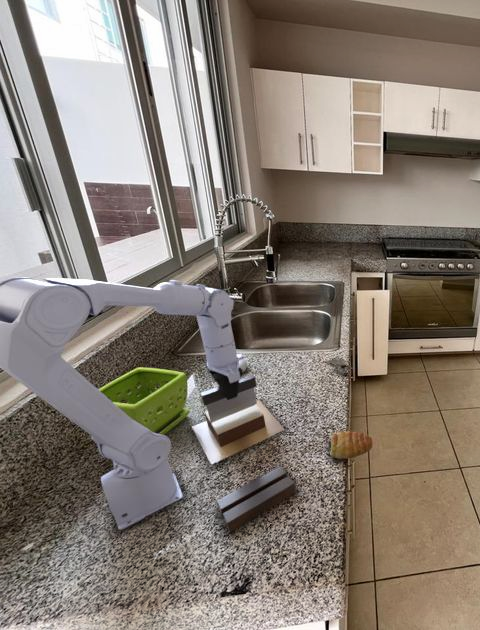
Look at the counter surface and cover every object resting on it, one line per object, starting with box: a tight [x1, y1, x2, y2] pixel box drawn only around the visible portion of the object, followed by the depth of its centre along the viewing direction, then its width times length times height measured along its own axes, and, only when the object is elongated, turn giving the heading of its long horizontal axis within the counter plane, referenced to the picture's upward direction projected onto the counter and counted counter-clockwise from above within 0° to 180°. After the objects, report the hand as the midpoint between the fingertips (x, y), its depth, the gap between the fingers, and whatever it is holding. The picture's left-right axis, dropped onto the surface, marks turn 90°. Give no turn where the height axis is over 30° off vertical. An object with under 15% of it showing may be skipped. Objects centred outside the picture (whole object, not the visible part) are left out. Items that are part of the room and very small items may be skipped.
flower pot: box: [97, 366, 191, 435], centre depth 80 cm, size 14×14×13 cm
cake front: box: [211, 405, 266, 447], centre depth 80 cm, size 10×5×4 cm, turn 134°
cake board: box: [191, 399, 286, 466], centre depth 82 cm, size 16×16×1 cm
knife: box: [199, 374, 257, 422], centre depth 78 cm, size 11×2×8 cm, turn 134°
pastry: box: [329, 430, 373, 460], centre depth 77 cm, size 9×7×4 cm
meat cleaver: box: [328, 357, 348, 376], centre depth 110 cm, size 12×1×5 cm
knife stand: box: [216, 465, 297, 534], centre depth 64 cm, size 12×6×2 cm, turn 134°
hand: (230, 395), depth 78 cm, fingers closed on knife, 2 cm apart
